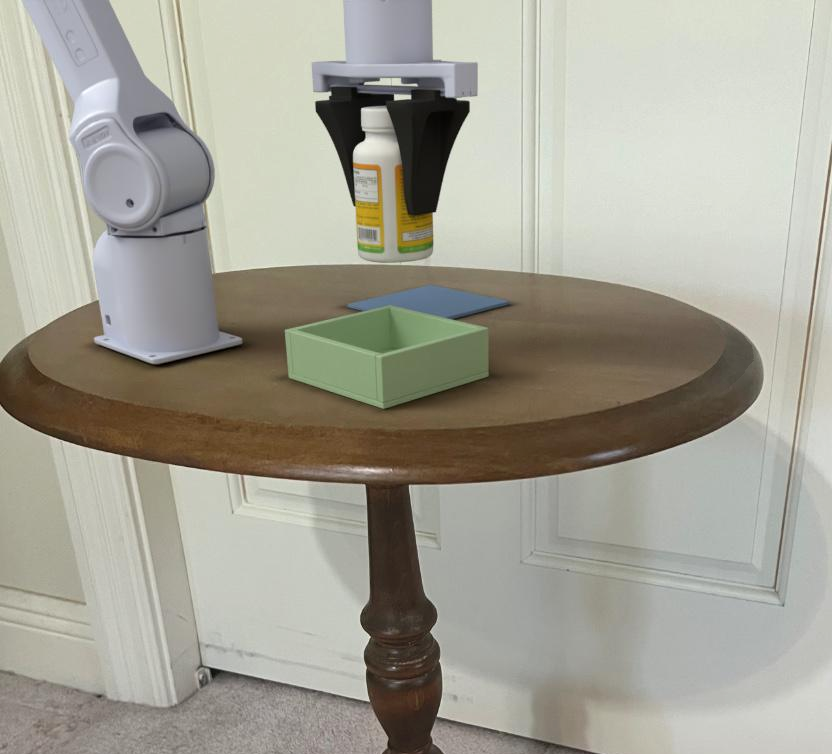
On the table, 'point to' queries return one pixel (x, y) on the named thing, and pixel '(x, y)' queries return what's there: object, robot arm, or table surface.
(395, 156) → the supplement bottle
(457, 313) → the mat
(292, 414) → the table surface
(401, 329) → the bin
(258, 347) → the table surface
